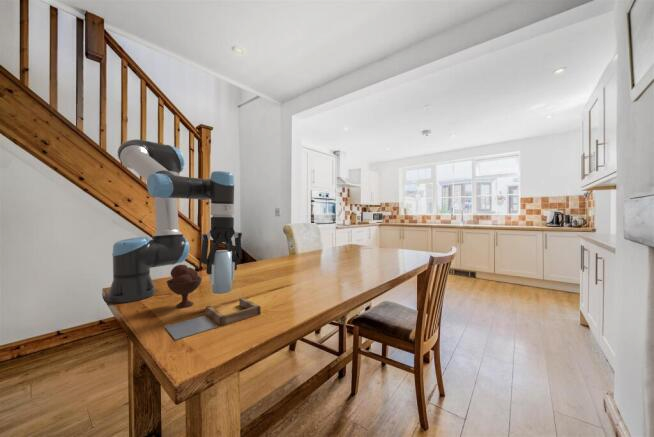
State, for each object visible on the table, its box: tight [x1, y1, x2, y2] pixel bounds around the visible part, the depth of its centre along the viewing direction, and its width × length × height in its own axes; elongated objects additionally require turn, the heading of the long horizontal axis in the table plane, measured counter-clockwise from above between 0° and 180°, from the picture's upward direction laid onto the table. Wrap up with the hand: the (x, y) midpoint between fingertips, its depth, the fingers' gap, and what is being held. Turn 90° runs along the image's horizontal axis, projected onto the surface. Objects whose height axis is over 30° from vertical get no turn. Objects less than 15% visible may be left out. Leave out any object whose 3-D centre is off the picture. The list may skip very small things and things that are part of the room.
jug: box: [211, 249, 233, 295], centre depth 90 cm, size 6×9×14 cm
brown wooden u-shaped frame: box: [205, 297, 262, 327], centre depth 84 cm, size 13×13×2 cm
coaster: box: [164, 315, 219, 341], centre depth 74 cm, size 11×11×1 cm
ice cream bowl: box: [166, 264, 203, 309], centre depth 92 cm, size 11×11×15 cm
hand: (222, 281), depth 90 cm, fingers closed on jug, 6 cm apart
